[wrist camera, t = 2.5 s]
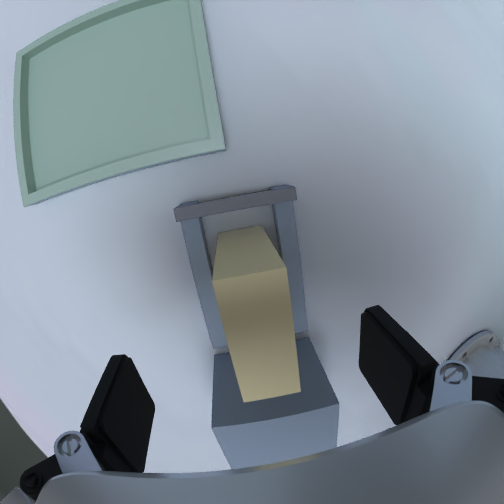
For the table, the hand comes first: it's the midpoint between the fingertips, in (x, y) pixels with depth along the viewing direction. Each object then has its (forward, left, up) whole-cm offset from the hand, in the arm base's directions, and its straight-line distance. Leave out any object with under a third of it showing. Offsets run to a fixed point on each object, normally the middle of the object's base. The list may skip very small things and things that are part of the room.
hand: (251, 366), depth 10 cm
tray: (+7, -16, -11) cm, 20 cm away
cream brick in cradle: (-1, 0, -11) cm, 11 cm away
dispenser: (-1, +4, -11) cm, 11 cm away
